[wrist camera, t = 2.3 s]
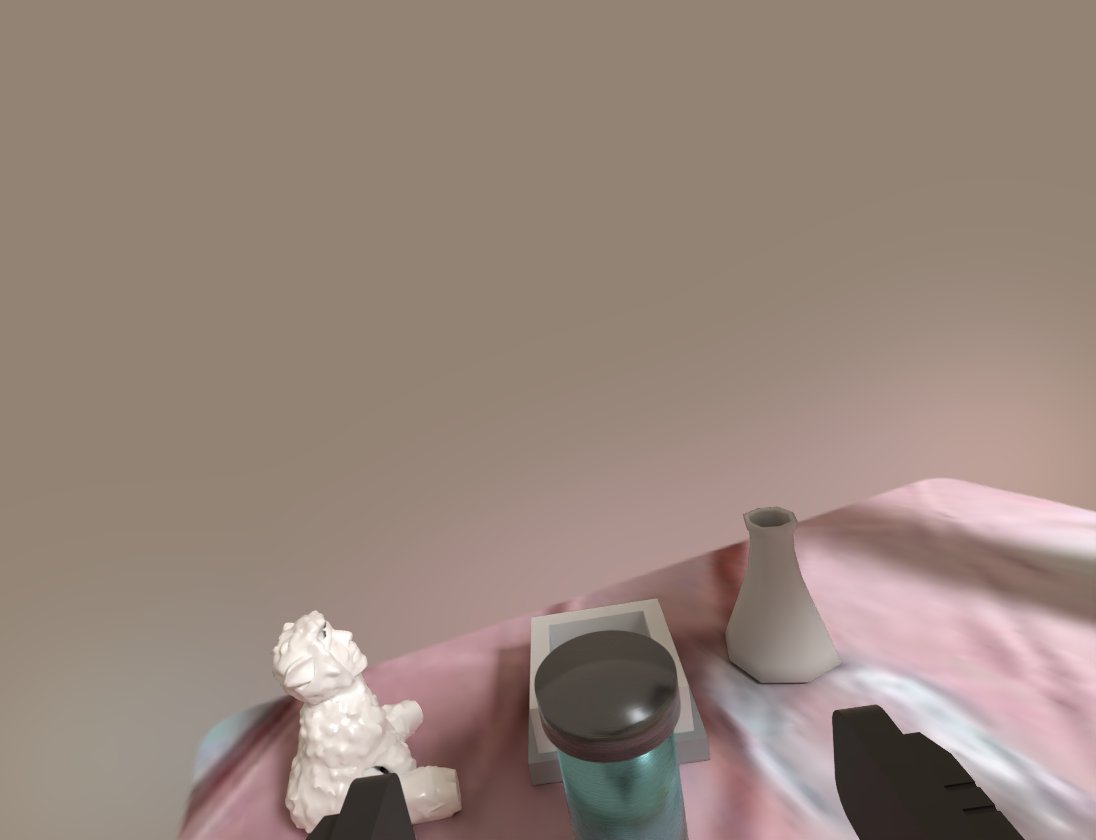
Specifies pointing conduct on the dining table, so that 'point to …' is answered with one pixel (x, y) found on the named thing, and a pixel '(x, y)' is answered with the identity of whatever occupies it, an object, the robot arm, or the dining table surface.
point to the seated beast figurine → (349, 729)
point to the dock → (620, 617)
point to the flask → (777, 609)
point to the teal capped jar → (615, 735)
